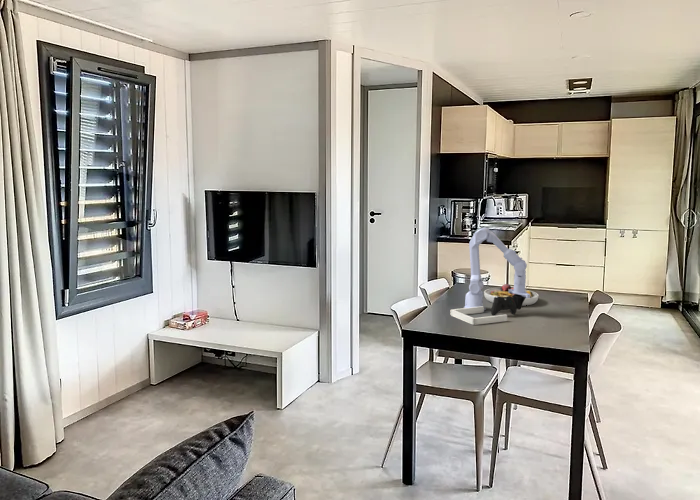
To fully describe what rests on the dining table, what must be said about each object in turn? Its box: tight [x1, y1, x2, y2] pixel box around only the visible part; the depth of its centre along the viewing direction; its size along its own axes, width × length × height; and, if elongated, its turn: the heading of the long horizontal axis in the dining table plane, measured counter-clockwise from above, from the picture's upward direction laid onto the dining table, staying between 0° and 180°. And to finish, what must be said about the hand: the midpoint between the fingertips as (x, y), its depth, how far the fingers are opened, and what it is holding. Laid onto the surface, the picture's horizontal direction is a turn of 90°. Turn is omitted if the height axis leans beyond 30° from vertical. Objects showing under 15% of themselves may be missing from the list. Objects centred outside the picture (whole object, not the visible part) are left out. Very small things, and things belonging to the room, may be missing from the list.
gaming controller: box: [490, 296, 518, 316], centre depth 285 cm, size 14×6×10 cm, turn 105°
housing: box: [449, 306, 508, 326], centre depth 279 cm, size 20×20×3 cm
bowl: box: [483, 283, 539, 307], centre depth 318 cm, size 30×30×8 cm
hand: (518, 309), depth 289 cm, fingers closed
